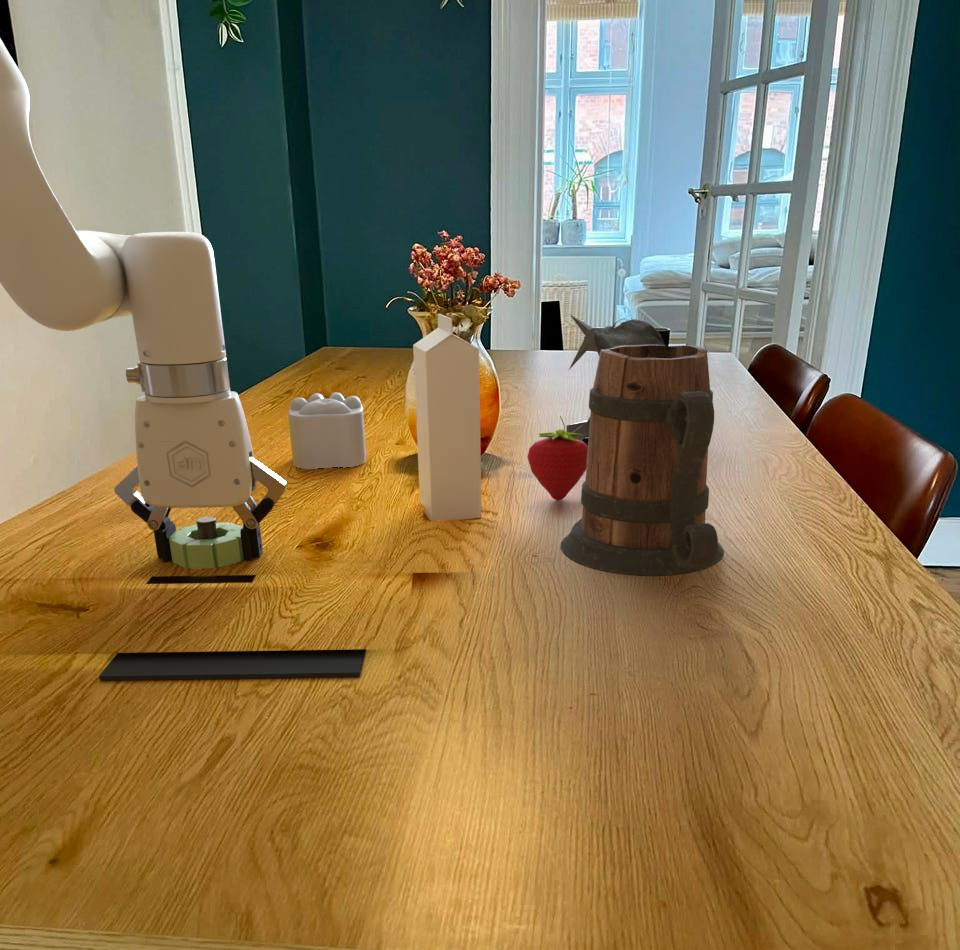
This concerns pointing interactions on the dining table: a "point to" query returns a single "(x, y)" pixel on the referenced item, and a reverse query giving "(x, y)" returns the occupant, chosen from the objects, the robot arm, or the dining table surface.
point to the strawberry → (558, 461)
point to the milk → (448, 424)
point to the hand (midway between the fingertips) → (212, 563)
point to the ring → (206, 547)
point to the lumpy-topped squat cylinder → (327, 432)
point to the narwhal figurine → (609, 338)
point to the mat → (234, 665)
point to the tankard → (647, 464)
